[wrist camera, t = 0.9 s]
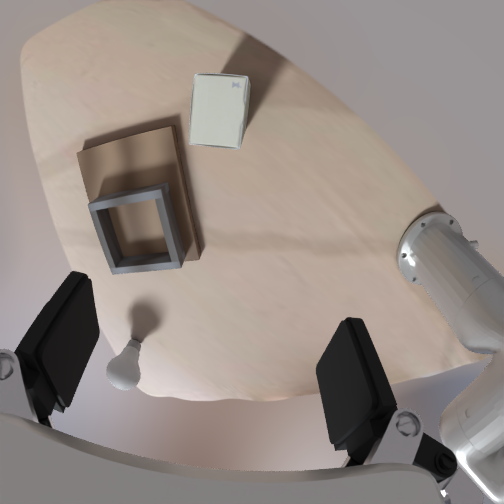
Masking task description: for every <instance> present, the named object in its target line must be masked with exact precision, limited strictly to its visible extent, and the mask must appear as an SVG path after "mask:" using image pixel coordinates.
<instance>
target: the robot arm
mask: <svg viewBox="0 0 504 504" xmlns="http://www.w3.org/2000/svg"><path fill="white" fill-rule="evenodd" d="M478 246H479V245H478V242H477V241H470V242H469V241H468V240H467V239H466V238H464V237H463V236H462V230H461V227H460V225H459V223H458V222H457V221H456V219H455V218H453V217H452V216H451V215H449V214H447V213H445V212H431V213H428V214H425V215H424V216H422V217H420V218H419V219H417V220H416V221H415V222H414V223H413V224H412V225H411V226H410V227H409V228H408V229H407V231H406V232H405V234H404V235H403V237H402V239H401V242H400V244H399V247H398V253H397V263H398V268H399V270H400V272H401V273H402V275H403V276H404V278H405V279H406V280H408V281H409V282H411V283H413V284H417V285H422V286H423V287H424V289H425V290H426V292H427V293H428V294H429V296H430V297H431V299H432V300H433V302H434V303H435V305H436V306H437V307H438V309H439V310H440V312H441V313H442V315H443V316H444V318H445V319H446V321H447V323H448V324H449V326H450V327H451V329H452V330H453V332H454V333H455V335H456V336H457V338H458V340H459V341H460V343H461V344H462V345H463V346H464V347H465V348H466V349H468V350H469V351H472V352H475V353H480V354H493V358H492V360H491V362H490V363H489V364H488V366H487V367H486V368H485V369H484V371H483V372H482V373H481V374H480V375H479V376H478V377H477V378H476V379H475V380H474V381H473V382H472V383H471V384H470V385H469V386H468V387H467V388H466V389H465V390H464V391H462V392H461V393H460V394H459V395H458V396H457V397H456V398H455V399H454V400H453V401H452V402H451V403H450V404H449V405H448V406H447V407H446V408H445V410H444V411H443V413H442V415H441V417H440V421H439V433H440V437H441V440H442V442H443V444H444V445H443V444H441V443H439V442H438V441H436V440H435V439H433V438H431V437H430V436H428V435H426V434H425V433H424V432H423V431H424V424H423V421H422V419H421V417H420V416H419V414H418V413H416V412H415V411H413V410H411V409H409V408H401V409H397V406H396V405H397V403H396V400H395V398H394V395H393V392H392V390H391V387H390V384H389V382H388V379H387V377H386V374H385V372H384V369H383V367H382V364H381V362H380V359H379V357H378V354H377V352H376V349H375V347H374V345H373V342H372V340H371V338H370V335H369V333H368V331H367V328H366V326H365V324H364V321H363V320H362V319H361V318H351V317H347V318H346V319H345V320H344V321H341V323H340V324H339V326H338V328H337V330H336V332H335V334H334V335H333V337H332V339H331V341H330V343H329V344H328V346H327V348H326V350H325V352H324V353H323V355H322V357H321V359H320V360H319V362H318V364H317V366H316V375H317V379H318V384H319V389H320V394H321V399H322V403H323V408H324V413H325V418H326V423H327V428H328V434H329V439H330V442H331V444H334V447H335V451H337V450H347V452H348V457H347V458H346V460H345V461H344V463H343V465H342V466H341V468H332V469H319V470H305V471H276V472H275V471H240V470H225V469H214V468H205V467H197V466H189V465H182V464H176V463H171V462H165V461H159V460H155V459H150V458H145V457H141V456H137V455H132V454H128V453H124V452H121V451H117V450H114V449H110V448H107V447H103V446H100V445H97V444H94V443H91V442H88V441H85V440H82V439H79V438H76V437H73V436H71V435H68V434H65V433H63V432H60V431H58V430H56V429H55V427H54V424H53V422H52V419H51V416H50V415H51V414H52V411H53V409H54V410H57V411H59V412H62V413H64V410H65V407H69V406H70V404H71V402H72V400H73V397H74V394H75V392H76V389H77V387H78V384H79V382H80V379H81V377H82V375H83V372H84V370H85V368H86V365H87V363H88V361H89V358H90V356H91V354H92V352H93V349H94V347H95V345H96V343H97V341H98V338H99V333H100V331H99V325H98V319H97V314H96V308H95V302H94V295H93V288H92V281H91V279H88V276H87V274H84V273H80V272H76V271H72V272H71V273H70V274H69V275H68V276H67V278H66V279H65V280H64V282H63V283H62V284H61V286H60V287H59V288H58V290H57V291H56V292H55V294H54V295H53V296H52V298H51V299H50V301H49V302H47V303H46V305H45V306H44V307H43V309H42V310H41V312H40V313H39V315H38V316H37V318H36V319H35V320H34V322H33V324H32V325H31V327H30V328H29V329H28V331H27V333H26V334H25V336H24V337H23V339H22V340H21V342H20V344H19V345H18V347H17V349H16V350H15V352H12V351H10V350H7V349H0V504H483V500H484V497H483V493H482V491H483V492H484V493H485V494H486V496H488V498H489V499H490V500H492V501H493V502H494V503H496V504H504V277H503V276H502V275H501V274H500V273H499V272H498V271H497V270H496V269H495V268H494V267H493V266H492V265H491V264H490V263H489V262H488V261H487V260H486V259H485V258H484V257H483V256H482V255H481V254H480V253H479V252H477V251H476V250H475V249H478ZM457 464H458V465H459V466H460V467H461V468H462V469H463V470H464V471H463V470H462V469H461V468H458V469H457ZM469 477H470V478H471V479H472V480H473V481H474V482H475V483H474V482H473V481H472V480H471V479H470V478H469ZM477 486H478V487H479V488H480V489H481V490H482V491H481V490H480V489H479V488H478V487H477Z"/></svg>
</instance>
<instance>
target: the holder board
mask: <svg viewBox="0 0 504 504" xmlns="http://www.w3.org/2000/svg"><path fill="white" fill-rule="evenodd" d="M77 157H78V162H79V166H80V170H81V174H82V177H83V181H84V185H85V188H86V192H87V196H88V199H89V202H90V203H89V204H88V207H89V210H90V214H91V217H92V220H93V223H94V226H95V229H96V232H97V235H98V238H99V240H100V243H101V246H102V249H103V252H104V254H105V257H106V260H107V262H108V265H109V267H110V270H111V272H112V274H123V273H134V272H145V271H156V270H167V269H177V268H181V267H182V265H183V262H184V261H193V260H199V259H200V256H201V252H200V247H199V243H198V239H197V234H196V230H195V226H194V221H193V217H192V212H191V207H190V203H189V198H188V193H187V188H186V183H185V178H184V173H183V168H182V163H181V158H180V153H179V147H178V142H177V136H176V131H175V125H174V126H169V127H165V128H160V129H156V130H152V131H148V132H144V133H140V134H136V135H132V136H129V137H125V138H121V139H118V140H114V141H111V142H108V143H104V144H101V145H98V146H95V147H92V148H89V149H86V150H83V151H80V152H78V153H77Z"/></svg>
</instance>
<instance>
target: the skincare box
mask: <svg viewBox="0 0 504 504" xmlns="http://www.w3.org/2000/svg"><path fill="white" fill-rule="evenodd" d="M250 90H251V83H250V81H249V78H248V76H241V75H232V74H218V73H196V74H195V75H194V81H193V87H192V95H191V106H190V120H189V144H190V145H199V146H207V147H216V148H225V149H235V150H238V149H239V148H240V147H241V144H242V140H243V137H244V134H245V131H246V124H247V117H248V110H249V101H250Z"/></svg>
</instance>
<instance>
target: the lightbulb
mask: <svg viewBox="0 0 504 504" xmlns="http://www.w3.org/2000/svg"><path fill="white" fill-rule="evenodd" d="M140 348H141V344H140V343H139V342H138V341H137V340H130V341H129V342H128V344H127V346H126V347H125V348H124V349H123V351H122V353H121V354H120V355H118V356H116V357H115V358H113V359H112V360H111V361H110V362H109V364H108V366H107V377H108V380H109V381H110V383H111V384H112V385H113V386H114V387H116V388H118V389H121V390H129V389H132V388H134V387H135V386H136V385H137V384H138V382H139V380H140V368H139V365H138V359H139V351H140Z"/></svg>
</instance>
